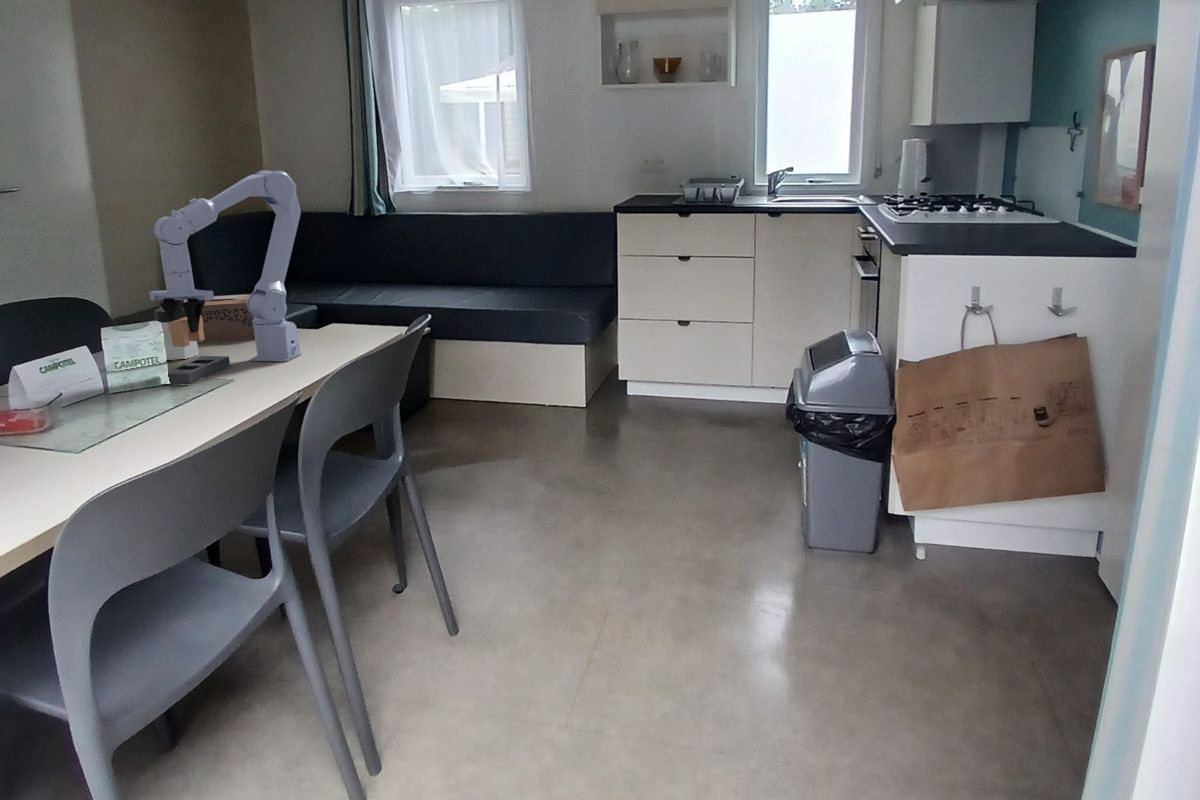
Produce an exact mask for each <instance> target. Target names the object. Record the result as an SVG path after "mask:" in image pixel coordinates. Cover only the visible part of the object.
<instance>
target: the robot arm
mask: <svg viewBox="0 0 1200 800" xmlns="http://www.w3.org/2000/svg"><path fill="white" fill-rule="evenodd" d="M297 187H298V186H297V184H296V183H295V182H294V180H293V178H292V177H291V176H290V175H289V174H288V173H287V172H285V171H283V170H267V169H266V170H264V169H263V170H262V169H261V170H258V171H257V172H256V173H255V174H250V175H248V176H246V177H245V178H242V179H240V180H239V181H237V182H236V183H234V184H233V185H231V186H230V187H228V188H226V189H225V190H223V191H222V192H219V193H218V194H217V195H215V196H213V197H212V198H210V199H207V198H203V197H200V198H198V199H197V198H195V197H193V198H191V199H190V200H189V204H186V205H185V206H184V207H181V208H179V209H178V210H177V209H176V210H175V209H174V210H171V211H170V214H171V216H162V217H161V218H158V219H157V220H156V223H155V224H154V229H153V230H152V232H153V235H154V236H155V238H156V239H157V240H158V243H159V249H160V252H159V253H160V258H161V264H162V270H163V276H164V282H165V288H166V289H165V290H153V291H149V292H148V293H149V298H150V301H162V302H161V303H160V307H162V308H163V309H164V311H165V312H166V313H167V315H168V316H169V318H170V319H171V321H175V320H178V319H181V318H183V308H184V310H185V313H186V316H187V319H188V325H189V329H190V332H191V333H194V332H197V331H198V330H199V320H200V315H201V312H202V309H203V306H204V304H205V301H210V300H213V299H214V296H215V295H214V290H204V289H203V290H202V289H196V288H195V284H194V277H193V270H192V264H191V257H190V251H189V247H188V239H189V237H190V236H191V235H193V234H195V233H197V232H199V231H201V230H202V229H204V228H206V227H208V226H209V225H212V224H213V223H215V222H216V221H217V219H218V215H219V213H220V212H222V211H224V210H226V209H228V208H230V207H232V206H233V205H235V204H238V203H240V202H242V201H243V200H245V199H247V198H249V197H260V198H261V199H262V200H264V201H265V202H266V203H268V205H269V206H270V208H271V209H272V210H273V212H274V213H275V214H274V215H275V217H274V222H273V226H272V229H271V235H270V238H269V243H268V247H267V251H266V254H265V259H264V264H263V268H262V272H261V277H260V278H259V280H258V282H257V283H256V284H255V286H254V289H253V292H252V293H250V294H251V296H250V297H249V298H248V300H247V309H248V311H249V312H250V314H252V315H253V328H254V335H255V339H254V342H255V349H256V355H255V356H253V357H251V358H250V359H249V361H250V362H288V361H290V360H292V359H294V358H296V357H298V356H300V355H302V353H303V351H301V349H300V340H299V334H298V333H299V332H298V328H297V325H296V324H295V322H292V321H288V320H285V316H286V314H287V309H288V307H287V303H286V299H287V291H286V287H285V281H286V276H287V272H288V269H289V264H290V260H291V256H292V252H293V247H294V243H295V238H296V235H297V231H298V227H299V222H300V218H301V212H302V211H301V206H300V202H299V199H298V194H297ZM184 300H188V301H187V302H184Z"/></svg>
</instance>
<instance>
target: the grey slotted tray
mask: <svg viewBox="0 0 1200 800" xmlns="http://www.w3.org/2000/svg"><path fill="white" fill-rule="evenodd" d="M229 368H231V363H230V356H227V355H225V356H224V355H223V356H222V355H221V356H220V355H199V356H197V357H196V358H195V357H194V359H191V360H188V361H186V362H183V363H181V364H179V365H176V366H174V367H172V368H169V369H167V370H168V377H169V381H170V383H171V384H191V383H194V382H196V381H198V380H200V379H202V378H205V377H207V378H208V376H209V377H211V376H213V375H215V373H216V374H217V372H218V373H220V372H221V371H224V370H226V369H229ZM210 375H211V376H210ZM205 379H206V378H205ZM202 380H203V379H202ZM200 381H201V380H200ZM198 382H199V381H198ZM196 383H197V382H196ZM194 384H195V383H194ZM191 385H192V384H191Z"/></svg>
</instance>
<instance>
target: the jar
mask: <svg viewBox="0 0 1200 800" xmlns="http://www.w3.org/2000/svg"><path fill="white" fill-rule="evenodd" d="M153 314H154V319H155V320H154V321H153V322H154V323H155V321H159V322H161V324H162V328H163V333H164V340H165V346H166V351H167V355H168V358H169V360H172V361H174V360H173V359H186V360H188V359H187V358H189V359H192V358H195V357H199V356H200V353H199V346H198V343H197V341H189V342H190V345H189V346H186V347H173V343H172V337H171V334H170V330H169V324H168V323H169V322H172V321H171V319H170V318H169V316H168V315H167V313H166V312H165V311H164V309H163V308H160V307H159V308H155V309H154V310H153ZM185 317H187V316H186V313H185V310H184V308H183V318H185ZM194 356H195V357H194ZM191 357H192V358H191Z"/></svg>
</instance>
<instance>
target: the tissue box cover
mask: <svg viewBox="0 0 1200 800" xmlns="http://www.w3.org/2000/svg"><path fill="white" fill-rule="evenodd" d="M251 294H252V293H250V294H248V293H247V294H231V295H230V294H229V295H214V299H213V300H210V301H205V304H204V306H203V309H202V312H201V315H200V316H202V320H203V326H204V327H203V332H204V338H205V340H202V341H197V342H200V343H210V342H209V341H214V342H224V341H223V340H229V341H238V340H237V339H244V340H253V339H254V340H255V335H254V328H253V315H252V314H250V312H249V311H248V309H247V300H248V298H249V297H250V296H251ZM187 301H188V300H184V302H187ZM159 308H162V307H161V306H160V307H159Z"/></svg>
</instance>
